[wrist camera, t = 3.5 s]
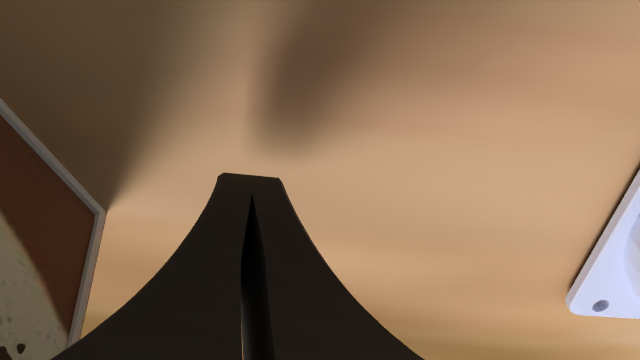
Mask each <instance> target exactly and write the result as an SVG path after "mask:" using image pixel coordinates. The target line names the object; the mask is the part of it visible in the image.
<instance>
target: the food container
mask: <svg viewBox="0 0 640 360" xmlns="http://www.w3.org/2000/svg"><path fill="white" fill-rule="evenodd" d="M106 215H107V212H106V211H105V210H104V209H103V208H102V207H101V206H100V205H99V204H98V203H97V202H96V201H95V199H94V198H93V197H92V196H91V195H90V194H89V193H88V192H87V191H86V190H85V189H84V188H83V186H82V185H81V184H80V183H79V182H78V181H77V180H76V179H75V178H74V177H73V176H72V175H71V174H70V172H69V171H68V170H67V169H66V168H65V167H64V166H63V165H62V164H61V163H60V162H59V161H58V160H57V158H56V157H55V156H54V155H53V154H52V153H51V152H50V151H49V150H48V149H47V148H46V147H45V146H44V144H43V143H42V142H41V141H40V140H39V139H38V138H37V137H36V136H35V135H34V134H33V133H32V132H31V130H30V129H29V128H28V127H27V126H26V125H25V124H24V123H23V122H22V121H21V120H20V119H19V117H18V116H17V115H16V114H15V113H14V112H13V111H12V110H11V109H10V108H9V107H8V106H7V105H6V103H5V102H4V101H3V100H2V99H1V98H0V360H50V359H52V358H53V357H55V356H56V355H58V354H59V353H61V352H62V351H64V350H65V349H67V348H68V347H70V346H71V345H73V344H74V343H76V342H77V341H79V340H80V337H81V332H82V328H83V323H84V318H85V314H86V309H87V304H88V299H89V295H90V290H91V285H92V281H93V276H94V271H95V266H96V262H97V257H98V252H99V248H100V243H101V238H102V233H103V229H104V224H105V219H106Z"/></svg>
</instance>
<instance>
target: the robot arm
mask: <svg viewBox="0 0 640 360" xmlns="http://www.w3.org/2000/svg"><path fill="white" fill-rule="evenodd" d="M565 301H566V304H567V306H568V308H569V309H570V311H571V312H572V313H573V314H577V315H587V316H603V317H619V318H634V319H640V170H639V172H638V173H637V175H636V177H635V178H634V180H633V182H632V184H631V185H630V187H629V189H628V191H627V192H626V194H625V196H624V197H623V199H622V201H621V203H620V204H619V206H618V208H617V210H616V211H615V213H614V215H613V216H612V218H611V220H610V222H609V223H608V225H607V227H606V229H605V230H604V232H603V234H602V236H601V237H600V239H599V241H598V242H597V244H596V246H595V248H594V249H593V251H592V253H591V255H590V256H589V258H588V260H587V261H586V263H585V265H584V267H583V268H582V270H581V272H580V274H579V275H578V277H577V279H576V280H575V282H574V284H573V286H572V287H571V289H570V291H569V293H568V294H567V296H566V299H565ZM241 322H242V336H241ZM242 339H243V356H244V360H424V359H423V358H421V357H420V356H418V355H417V354H416V353H414V352H413V351H412V350H410V349H409V348H408V347H407V346H406V345H404V344H403V343H402V342H401V341H399V340H398V339H397V338H396V337H395V336H393V335H392V334H391V333H390V332H389V331H388V330H386V329H385V328H384V327H383V326H382V325H381V324H380V323H379V322H378V321H377V320H376V319H375V318H374V317H373V316H372V315H371V314H370V313H369V312H368V311H366V310H365V309H364V308H363V307H362V306H361V305H360V304H359V302H358V301H357V300H356V299H355V298H354V297H353V296H352V295H351V294H350V292H349V291H348V290H347V289H346V288H345V286H344V285H343V284H342V283H341V282H340V280H339V279H338V278H337V277H336V275H335V274H334V273H333V271H332V270H331V269H330V267H329V266H328V265H327V263H326V262H325V260H324V259H323V257H322V256H321V254H320V253H319V251H318V250H317V248H316V247H315V245H314V244H313V242H312V240H311V239H310V237H309V235H308V234H307V232H306V230H305V229H304V227H303V225H302V223H301V222H300V220H299V218H298V216H297V214H296V212H295V210H294V208H293V206H292V204H291V202H290V200H289V198H288V195H287V193H286V191H285V188H284V186H283V183H282V182H281V180H280V179H279V178H274V177H263V176H253V175H243V174H233V173H222V174H221V175H219V176H218V178H217V183H216V186H215V188H214V191H213V193H212V195H211V197H210V199H209V201H208V203H207V205H206V207H205V209H204V210H203V212H202V213H201V215H200V217H199V218H198V220H197V222H196V223H195V225H194V226H193V228H192V229H191V231H190V232H189V234H188V235H187V236H186V238H185V239H184V240H183V242H182V243H181V245H180V246H179V247H178V249H177V250H176V251H175V253H174V254H173V255H172V256H171V257H170V259H169V260H168V261H167V262H166V263H165V265H164V266H163V267H162V268H161V269H160V270H159V271H158V272H157V273H156V275H155V276H154V277H153V278H152V279H151V280H150V281H149V282H148V283H147V284H146V285H145V286H144V287H143V288H142V289H141V290H140V291H139V292H138V293H137V294H136V295H135V296H134V297H133V298H131V299H130V300H129V301H128V302H127V303H126V304H125V305H124V306H122V307H121V308H120V309H119V310H118V311H116V312H115V313H114V314H113V315H111V316H110V317H109V318H108V319H106V320H105V321H104V322H103V323H101V324H100V325H99V326H98V327H96V328H95V329H94V330H93V331H91V332H90V333H89V334H87V335H86V336H85V337H83V338H82V339H80V340H79V341H77V342H76V343H74V344H73V345H71V346H70V347H68V348H67V349H65V350H64V351H62V352H61V353H59V354H58V355H56V356H55V357H53V358H52V359H50V360H242Z"/></svg>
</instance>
